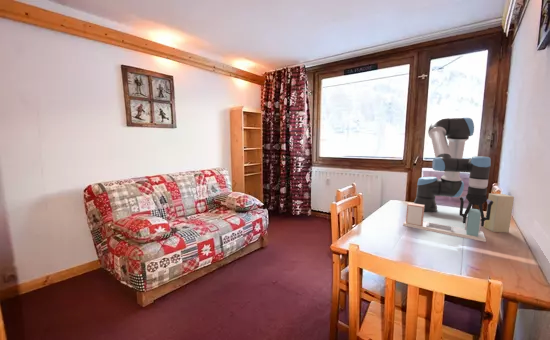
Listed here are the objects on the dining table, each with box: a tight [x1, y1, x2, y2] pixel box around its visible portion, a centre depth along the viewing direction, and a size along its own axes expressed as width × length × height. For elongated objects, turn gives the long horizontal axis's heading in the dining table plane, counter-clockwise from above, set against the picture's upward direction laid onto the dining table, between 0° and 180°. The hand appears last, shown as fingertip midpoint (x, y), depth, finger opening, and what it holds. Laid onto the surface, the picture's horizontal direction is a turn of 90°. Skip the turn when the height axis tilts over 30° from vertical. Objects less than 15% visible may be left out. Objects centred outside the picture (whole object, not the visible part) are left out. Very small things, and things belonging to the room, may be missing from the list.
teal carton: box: [466, 207, 481, 236], centre depth 128 cm, size 5×8×12 cm, turn 144°
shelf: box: [402, 220, 487, 243], centre depth 136 cm, size 16×36×4 cm, turn 54°
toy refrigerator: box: [483, 193, 515, 233], centre depth 134 cm, size 8×7×21 cm
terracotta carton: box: [405, 202, 425, 226], centre depth 140 cm, size 5×8×12 cm, turn 54°
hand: (472, 230), depth 129 cm, fingers closed on teal carton, 5 cm apart
